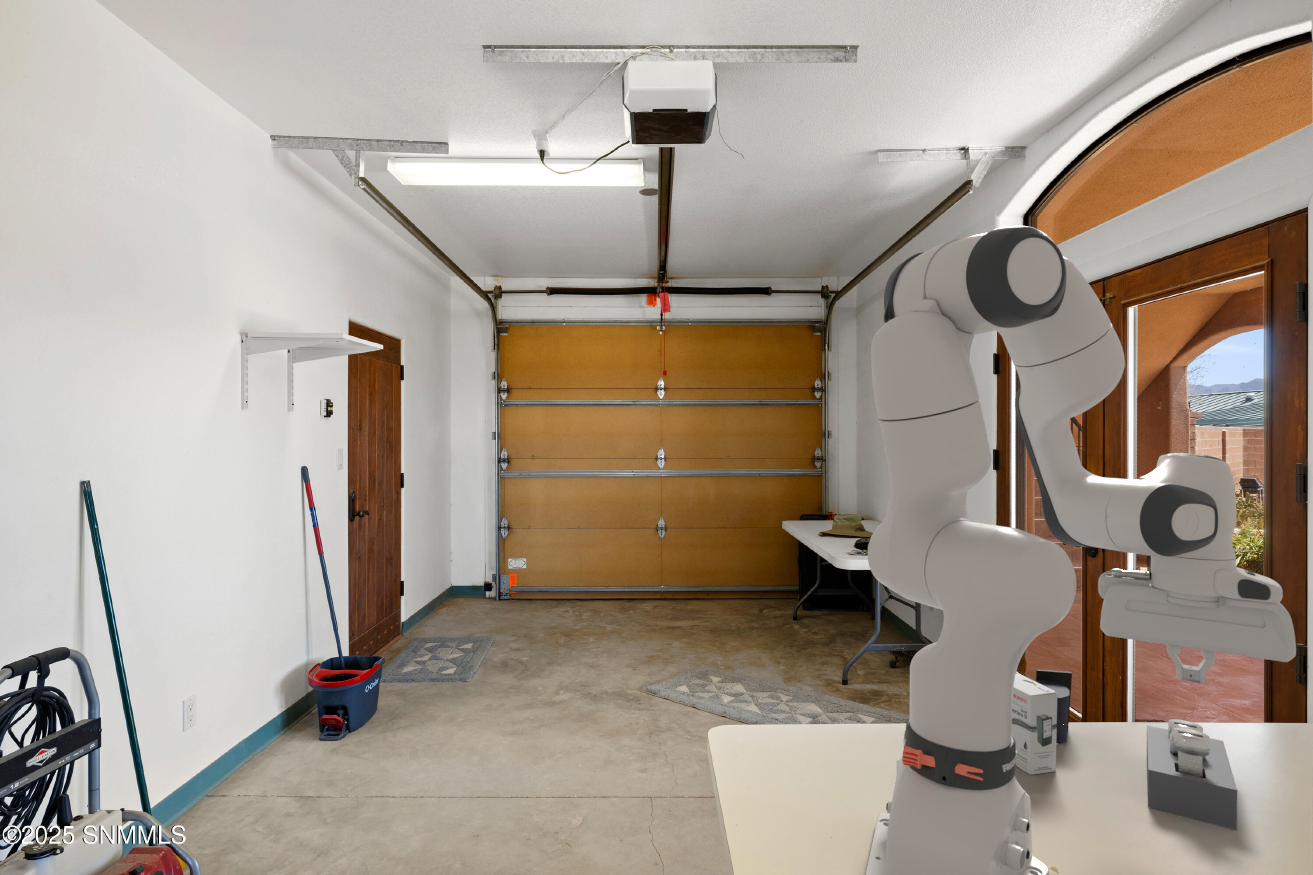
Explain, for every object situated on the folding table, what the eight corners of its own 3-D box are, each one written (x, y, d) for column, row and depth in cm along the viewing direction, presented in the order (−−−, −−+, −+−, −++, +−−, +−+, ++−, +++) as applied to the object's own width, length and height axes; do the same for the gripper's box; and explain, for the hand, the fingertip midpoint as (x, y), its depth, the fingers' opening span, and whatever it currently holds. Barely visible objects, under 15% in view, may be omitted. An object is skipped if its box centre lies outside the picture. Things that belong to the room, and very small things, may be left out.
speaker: (1029, 720, 117) (1032, 662, 116) (1068, 730, 114) (1072, 671, 113) (1024, 741, 111) (1028, 680, 110) (1065, 752, 108) (1070, 689, 107)
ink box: (987, 749, 107) (988, 673, 107) (1013, 745, 108) (1014, 671, 108) (1030, 775, 99) (1030, 694, 99) (1058, 771, 100) (1059, 691, 100)
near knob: (1210, 782, 88) (1211, 742, 88) (1171, 773, 90) (1172, 734, 90) (1208, 769, 91) (1208, 731, 91) (1170, 761, 93) (1170, 724, 93)
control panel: (1236, 829, 85) (1237, 790, 85) (1148, 806, 91) (1148, 769, 91) (1222, 775, 99) (1223, 740, 99) (1146, 757, 105) (1146, 725, 105)
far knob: (1203, 768, 97) (1204, 732, 97) (1168, 760, 99) (1168, 725, 99) (1201, 757, 100) (1201, 722, 100) (1167, 750, 102) (1167, 716, 102)
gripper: (1097, 570, 94) (1095, 671, 94) (1299, 591, 82) (1298, 706, 82) (1099, 563, 99) (1098, 658, 99) (1290, 582, 87) (1288, 690, 87)
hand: (1190, 680), depth 90 cm, fingers closed
